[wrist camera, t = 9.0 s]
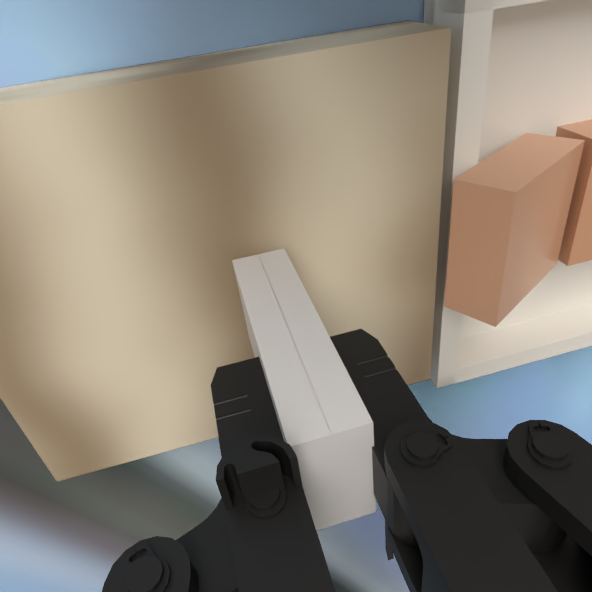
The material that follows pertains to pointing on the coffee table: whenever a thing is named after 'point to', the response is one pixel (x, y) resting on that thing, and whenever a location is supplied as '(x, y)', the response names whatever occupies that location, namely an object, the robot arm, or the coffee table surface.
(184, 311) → the board
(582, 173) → the tile rear
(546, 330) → the tray
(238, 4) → the coffee table surface
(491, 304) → the tile front
